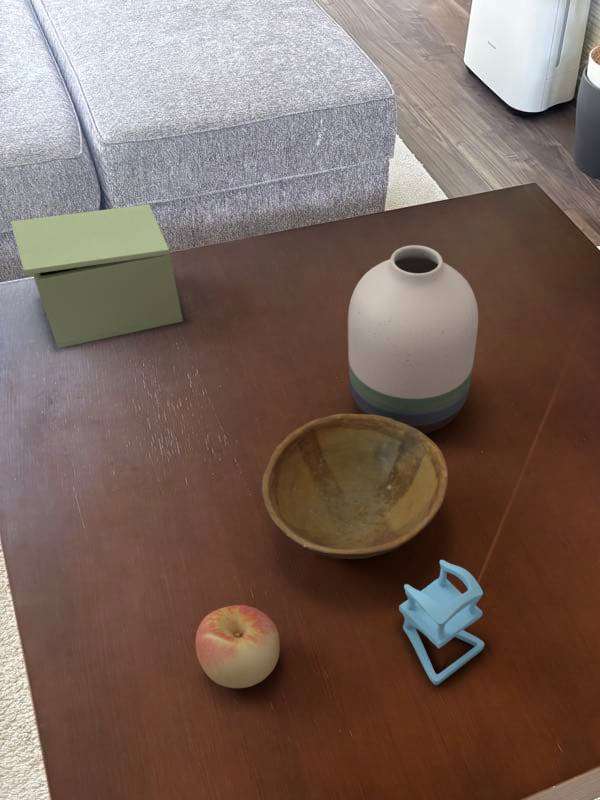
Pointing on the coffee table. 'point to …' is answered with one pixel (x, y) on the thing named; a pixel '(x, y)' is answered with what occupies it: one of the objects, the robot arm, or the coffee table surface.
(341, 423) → the bowl
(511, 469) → the coffee table surface
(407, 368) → the vase
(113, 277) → the chest
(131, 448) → the coffee table surface
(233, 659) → the apple
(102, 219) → the lid
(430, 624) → the chair
